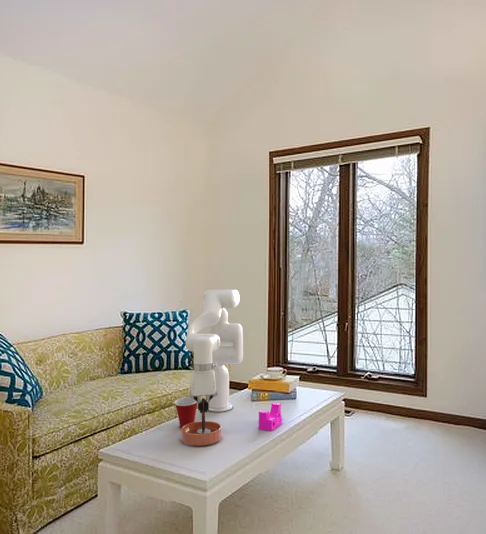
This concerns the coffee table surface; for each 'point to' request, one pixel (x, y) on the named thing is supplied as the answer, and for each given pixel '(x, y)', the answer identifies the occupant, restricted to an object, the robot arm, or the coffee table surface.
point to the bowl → (195, 439)
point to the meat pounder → (203, 420)
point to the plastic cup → (186, 410)
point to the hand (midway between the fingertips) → (203, 411)
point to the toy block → (270, 417)
